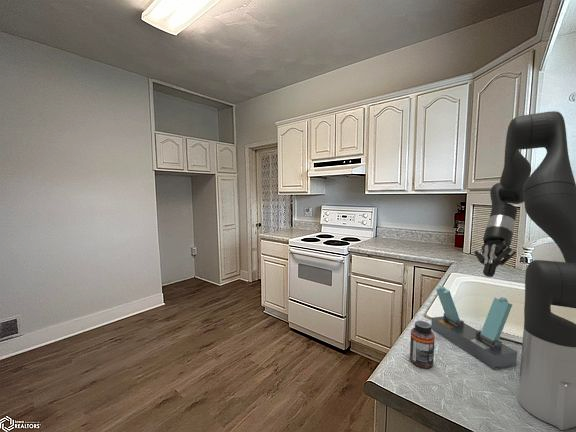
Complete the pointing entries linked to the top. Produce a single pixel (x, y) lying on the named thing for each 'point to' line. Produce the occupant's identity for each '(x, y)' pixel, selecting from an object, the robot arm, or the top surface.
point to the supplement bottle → (422, 345)
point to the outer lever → (448, 304)
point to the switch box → (475, 343)
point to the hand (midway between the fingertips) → (488, 275)
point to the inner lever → (495, 320)
